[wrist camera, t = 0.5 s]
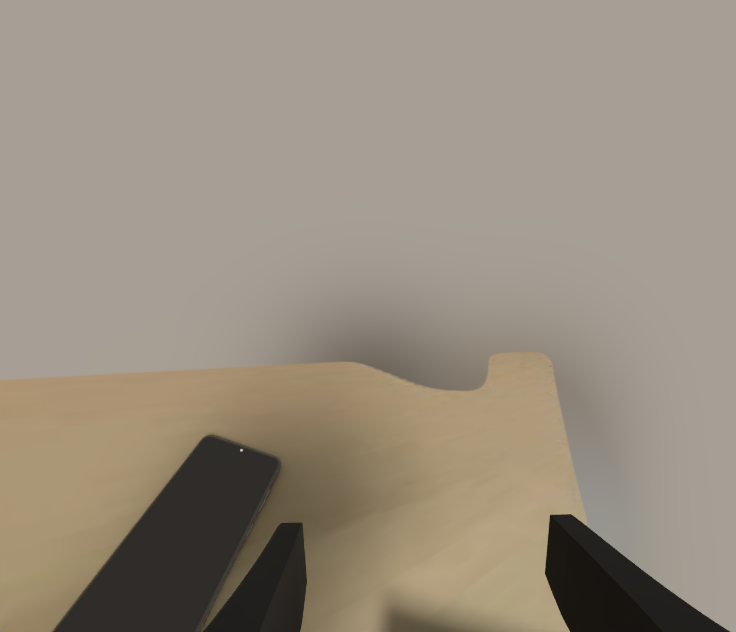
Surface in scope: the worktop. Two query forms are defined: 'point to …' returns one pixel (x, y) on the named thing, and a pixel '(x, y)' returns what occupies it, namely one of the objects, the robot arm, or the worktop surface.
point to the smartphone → (179, 545)
